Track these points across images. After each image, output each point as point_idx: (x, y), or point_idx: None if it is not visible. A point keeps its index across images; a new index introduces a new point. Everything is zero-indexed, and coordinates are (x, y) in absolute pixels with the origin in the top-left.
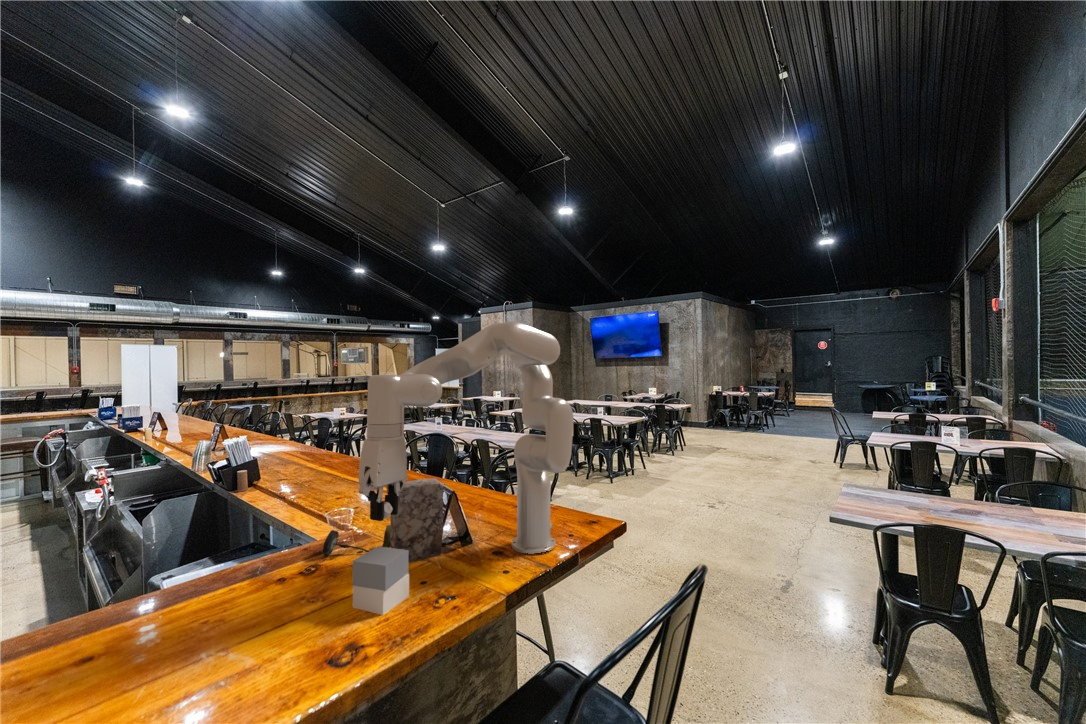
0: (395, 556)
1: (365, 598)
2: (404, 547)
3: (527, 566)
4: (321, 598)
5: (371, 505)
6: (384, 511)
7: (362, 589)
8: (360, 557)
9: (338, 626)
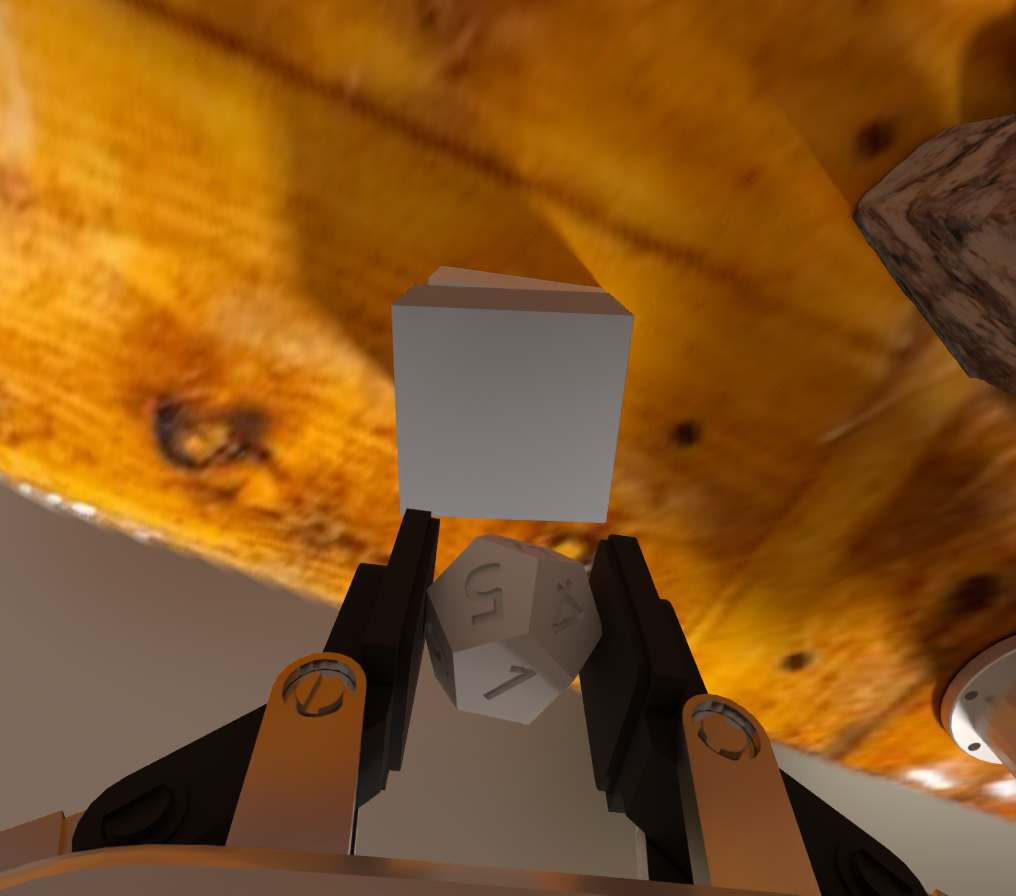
0: (513, 501)
1: None
2: (935, 254)
3: (839, 707)
4: (465, 43)
5: (329, 648)
6: (435, 673)
7: None
8: (448, 318)
9: (314, 305)
